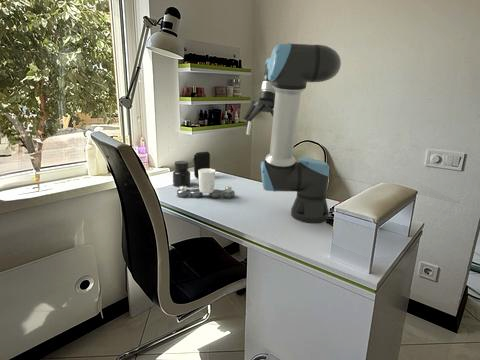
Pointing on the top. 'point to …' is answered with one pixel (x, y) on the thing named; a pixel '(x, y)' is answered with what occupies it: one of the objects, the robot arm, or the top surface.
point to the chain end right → (223, 193)
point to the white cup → (206, 180)
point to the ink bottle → (181, 174)
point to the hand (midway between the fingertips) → (260, 136)
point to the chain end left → (188, 192)
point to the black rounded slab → (201, 162)
